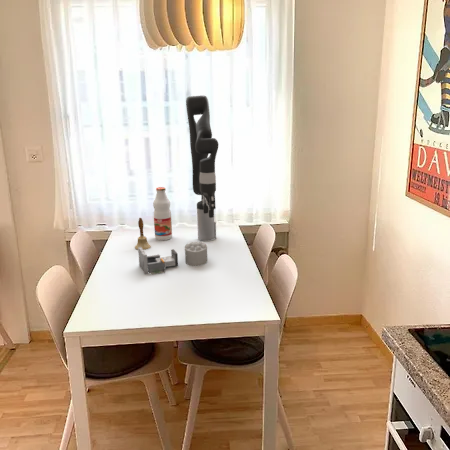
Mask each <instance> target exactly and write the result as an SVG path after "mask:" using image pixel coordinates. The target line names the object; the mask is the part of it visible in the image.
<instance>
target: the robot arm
mask: <svg viewBox="0 0 450 450" xmlns="http://www.w3.org/2000/svg"><path fill="white" fill-rule="evenodd" d="M185 107H186V113H187V123H188V129H189V145H190V153H191V154H190V155H191V165H192V167H191V169H192V190H193V193H194V194H195V195H197V196H200V198H201V200H199V201H197V203H196V220H197V221H196V222H197V240H198V241H201V242H202V241H204V242H205V241H206V242H210V241H213V240H215V239H217V222H216V221H215V210H216V190H217V183H216V182H217V180H216V179H217V177H216V158H217V153H218V151H219V142H218V140H217V138H214V137H213V132H212V128H211V117H210V115H211V114H210V113H211V112H210V104H209V99H208V97H207V96H206V95H204V94H203V95H192V96H191V95H190V96H187V97H186V99H185ZM199 115H201V116H200V117H199V119H198V120H197V121H196V119H195V117H194V116H199ZM212 137H213V138H212Z"/></svg>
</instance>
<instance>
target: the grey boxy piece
mask: <svg viewBox="0 0 450 450" xmlns="http://www.w3.org/2000/svg"><path fill="white" fill-rule="evenodd" d="M170 252H171V255H169V256H163V257H161V256H160V258H155V262H159V261H162V262H163V263H164V262H165V268H167V267H172V266H174V267H179V256H178V253H177V251H176V250H175V249H170Z"/></svg>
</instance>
